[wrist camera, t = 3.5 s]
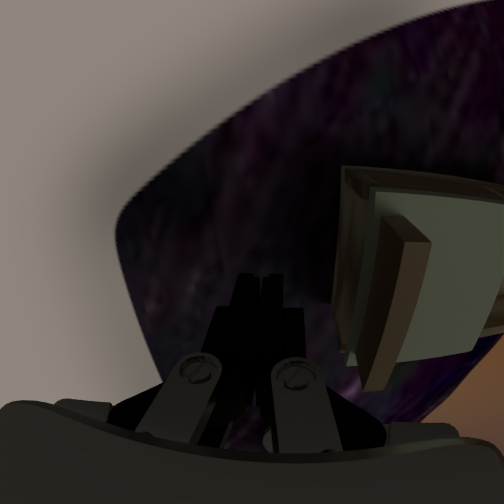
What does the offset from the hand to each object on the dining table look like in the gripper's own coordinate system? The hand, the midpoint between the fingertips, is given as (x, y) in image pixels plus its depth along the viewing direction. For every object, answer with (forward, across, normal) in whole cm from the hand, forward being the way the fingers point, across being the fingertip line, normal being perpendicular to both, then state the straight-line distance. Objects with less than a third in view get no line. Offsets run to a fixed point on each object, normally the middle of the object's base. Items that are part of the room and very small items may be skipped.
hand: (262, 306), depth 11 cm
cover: (+2, -8, 0) cm, 8 cm away
